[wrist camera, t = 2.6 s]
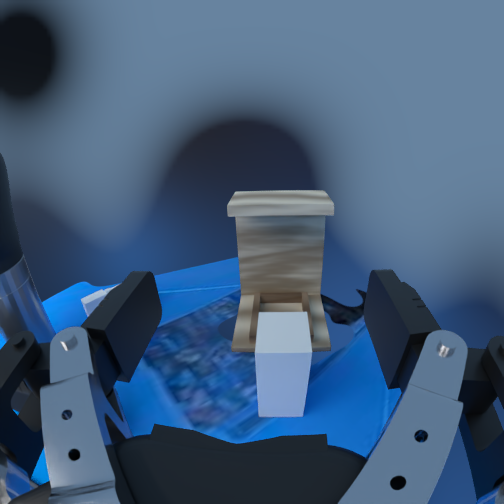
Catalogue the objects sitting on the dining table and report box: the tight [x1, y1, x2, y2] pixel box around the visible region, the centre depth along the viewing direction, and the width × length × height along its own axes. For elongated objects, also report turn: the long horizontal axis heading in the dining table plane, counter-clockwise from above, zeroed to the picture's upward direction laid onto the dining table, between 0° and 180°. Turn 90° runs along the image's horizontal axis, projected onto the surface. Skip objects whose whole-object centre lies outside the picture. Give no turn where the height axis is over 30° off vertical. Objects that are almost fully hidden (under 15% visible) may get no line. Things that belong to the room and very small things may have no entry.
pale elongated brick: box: [255, 312, 312, 417], centre depth 29 cm, size 6×5×11 cm
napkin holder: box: [81, 285, 118, 317], centre depth 47 cm, size 15×11×6 cm
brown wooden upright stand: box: [227, 191, 334, 352], centre depth 41 cm, size 15×14×19 cm
